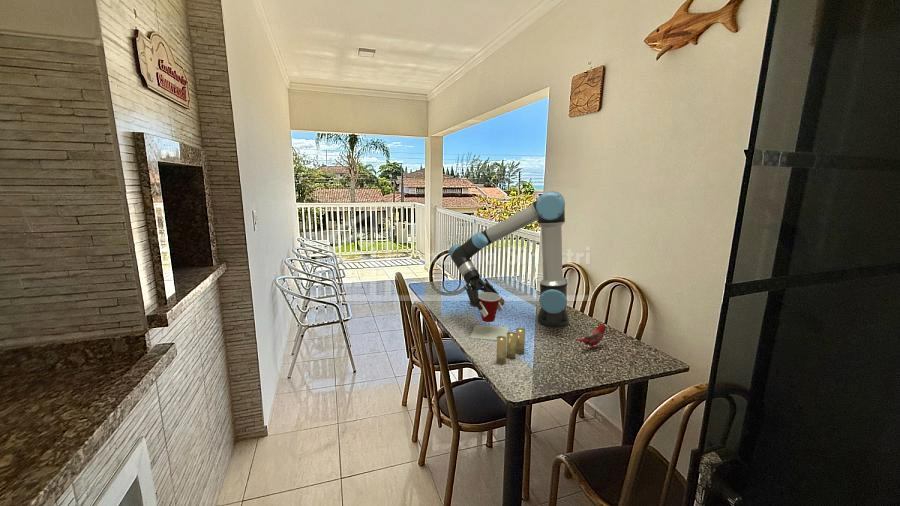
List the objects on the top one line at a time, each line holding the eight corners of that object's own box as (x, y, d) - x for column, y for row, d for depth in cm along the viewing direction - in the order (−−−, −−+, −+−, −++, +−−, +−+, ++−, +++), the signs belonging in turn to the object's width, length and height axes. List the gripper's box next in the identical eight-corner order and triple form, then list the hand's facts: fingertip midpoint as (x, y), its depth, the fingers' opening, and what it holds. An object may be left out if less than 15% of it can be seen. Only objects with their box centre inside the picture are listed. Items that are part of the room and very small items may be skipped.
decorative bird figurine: (607, 346, 156) (609, 324, 154) (577, 355, 148) (579, 331, 146) (602, 343, 159) (603, 321, 157) (572, 352, 150) (573, 329, 149)
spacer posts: (526, 352, 150) (527, 329, 149) (501, 365, 140) (502, 340, 138) (519, 349, 153) (519, 327, 151) (494, 362, 143) (494, 337, 141)
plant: (503, 310, 203) (503, 290, 201) (468, 308, 207) (468, 288, 205) (505, 299, 223) (505, 281, 221) (472, 297, 226) (473, 280, 224)
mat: (508, 328, 177) (508, 327, 177) (505, 341, 161) (505, 340, 161) (475, 325, 180) (475, 324, 180) (469, 338, 165) (469, 337, 165)
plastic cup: (485, 326, 163) (485, 300, 161) (472, 318, 172) (472, 293, 170) (505, 322, 168) (505, 296, 166) (491, 314, 177) (492, 290, 175)
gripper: (481, 273, 185) (504, 311, 177) (448, 281, 170) (472, 322, 162) (489, 265, 180) (514, 303, 172) (456, 272, 166) (481, 314, 157)
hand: (493, 312), depth 167 cm, fingers closed on plastic cup, 10 cm apart
